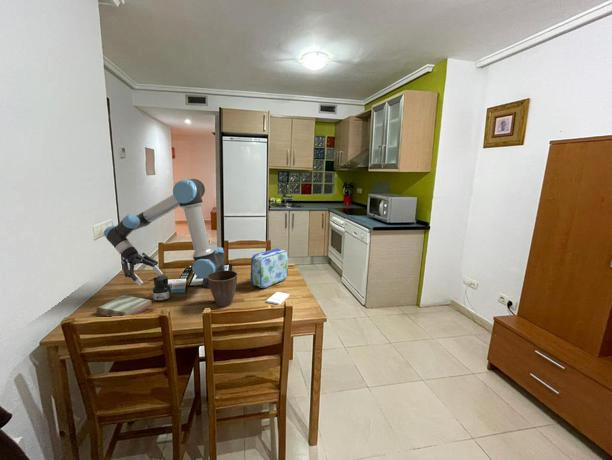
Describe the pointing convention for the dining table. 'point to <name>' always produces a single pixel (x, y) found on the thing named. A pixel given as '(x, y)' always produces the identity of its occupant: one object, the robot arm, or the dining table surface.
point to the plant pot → (223, 286)
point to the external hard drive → (277, 298)
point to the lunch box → (269, 267)
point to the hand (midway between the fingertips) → (151, 279)
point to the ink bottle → (161, 289)
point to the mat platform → (124, 306)
